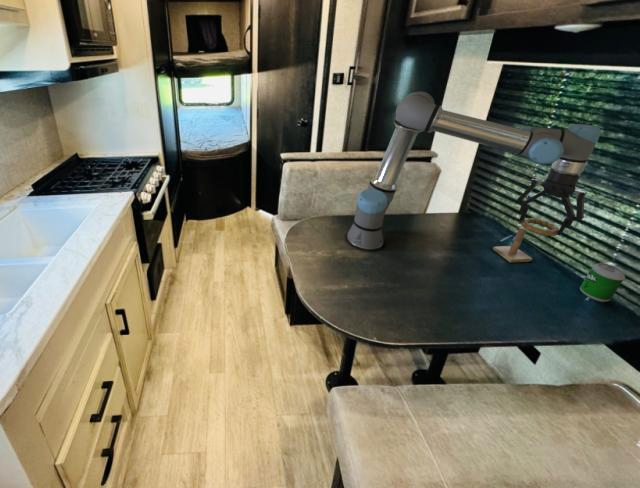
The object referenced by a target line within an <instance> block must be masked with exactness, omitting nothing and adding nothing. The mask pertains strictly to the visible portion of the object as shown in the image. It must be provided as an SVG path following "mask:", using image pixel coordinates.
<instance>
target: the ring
mask: <svg viewBox="0 0 640 488" xmlns="http://www.w3.org/2000/svg"><path fill="white" fill-rule="evenodd" d="M520 224H521V227H524V228H526V229H527V231H529V232H531V233H534V234H536V235H540V236H544V237H554V236H558V235H557V233H558V231H559V229H560V228H559V227H558V226H557V225H556V224H554V223H551V222H550V221H546V220H544V219H541V218H534V217H525V218H524V219H523V220H522V221H521V222H520ZM532 224H534V225H539V226H541V227H545V228H547V229H544V228H540V227H536V226H534V225H532Z"/></svg>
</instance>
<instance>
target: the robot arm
mask: <svg viewBox="0 0 640 488" xmlns="http://www.w3.org/2000/svg"><path fill="white" fill-rule="evenodd" d="M393 125H394V126H395V129H394V131H393V134H392V136H391V138H390V141H389V143H388V145H387V148H386V150H385V153H384V155H383V158H382V160H381V163H380V165H379V168H378V170H377V172H376V175H375V176H372V177H370V180H369V183H368V185H367V188H366V189H364V190H362V191H360V192H359V194H358V196H357V198H356V206H355V212H354V219H353V223H352V225H351V227H350V228H349V230H348V231H347V235H346V239H347V242H348V243H349V244H350V245H351V246H353V247H355V248H357V249H359V250H363V251H377V250H380V249H382V247H383V245H384V236H383V229H382V227H383V223H384V219H385V215H386V212H387V211H388V208H389V207H390V204H391V203H392V202H393V200H394V196H395V194H396V192H397V189H398V185H397V181H398V179H399V176H400V173H401V171H402V170H403V167H404V165H405V162H406V161H407V158H408V156H409V154H410V152H411V150H412V147H413V145H414V143H415V141H416V138H417V137H418V134H420V133H421V132H425V133H432V132H435V133H440V134H442V135H443V134H444V135H447V136H451V137H455V138H457V139H461V140H466V141H469V142H473V143H477V144H480V145H482V146H483V145H484V146H487V147H490V148H493V149H494V148H495V149H498V150H500V151H501V150H502V151H504V152H508V153H512V154H516V155H519V156H523V157H527V158H529V159H531V160H532V161H533V162H535V163H538V164H542V165H547V164H551V168H550V169H549V170H548V173H547V176H546V178H545V180H540V179H539V178H535V179H533V180H531V183H530V185H529V186H528V187H527V188H526V189H525V190H524V191H523V192H522V193H521V195H519V196H518V198H517V199H516V202H518V203H520V204H521V205H520V208H519V210H518V212H519V213H521V214H520V217H519V219H518V222H519V223H521V221H522V220H523V219H525V218H526V216H527V213H528V211H529V209H530V207H531V204H530V203H532V202H534V201H535V200H537V199H539V198H541V197H542V196H543V195H547V196H551V197H552V196H553V197H555V198H558V199H561V202H562V204H563V207H564V210H565V213H566V215H567V216H566V217H565V218H564V219H563V222H562V223H561V225H560V227H559V228H558V229H559V231H558V233H557V235H556V236H561V235H562V234H563V233H564V231H565V229H569V228H570V227H572V225H573V223H574V221H578V222H580V221H582V220H583V219H584V218H585V197H586V196H587V194H588V192H587V191H586V190H579V189H576V186H577V184H578V182H579V180H580V178H581V174H582V173H583V172H584V170H585V167H586V166H587V164H588V161H589V158H590V157H591V155H592V153H593V151H594V149H595V147H596V145H597V144H598V141H599V138H600V136H601V133H602V130H601V128H600V127H598V126H595V125H590V124H584V123H572V124H570V125H569V126H568V128H566V129H559V128H557V129H556V128H549V127H548V128H547V127H538V126H534V125H533V126H528V125H527V126H525V125H523V126H521V127H519V128H518V127H514V126H509V125H506V124H501V123H497V122H493V121H489V120H485V119H481V118H477V117H473V116H469V115H465V114H461V113H457V112H453V111H450V110H445V109H444V108H443V107H442V106H441V105H439V104H435V100H434V98H433V96H432V95H430V94H429V93H427V92H425V91H414V92H411V93H409V94H407V95H406V96H405V97H404V98H403V99H401V101H400V102H399V103H398V104H397V106H396V109H395V117H394V121H393ZM540 185H541V186H542V188H543V189H542V190H541V191H539V192H537V193H536V194H534V195H532V196H531V197H529V198H528V199H525V198H527V196H529V194H530V193H532V191H533V190H534V189H535V188H536V187H539V186H540ZM572 194H575V195H574V196H575V197H576V213H575V211H574V208H573V204H572V202H571V198H570V195H572Z"/></svg>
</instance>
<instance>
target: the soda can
mask: <svg viewBox="0 0 640 488" xmlns="http://www.w3.org/2000/svg"><path fill="white" fill-rule="evenodd" d="M625 279H626V275H625V274H624V272H623V270H622V269H620V268H618V267H616V266H614V265H612V264H608V263H605V262H600V263H595V264H593V265H592V266H591V268H590V270H589V271H588V273H587V275H586V277H585V278H584V280H583V281H582V283H581V285H580V287H579V290H580V292H581V293H582V295H584V296H586V297H587V298H588V299H591V301H595V302H599V303H605V302H609V301H611V300H612V298H613V297H614V295H615V294H616V292H617V291H618V289H619V287H620V286H621V285H622V283H623V282H624V280H625Z"/></svg>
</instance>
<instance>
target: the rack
mask: <svg viewBox="0 0 640 488" xmlns="http://www.w3.org/2000/svg"><path fill="white" fill-rule="evenodd" d="M527 231H528V230H527V229H526V228H524V227H523V226H519V227H518V230H517V232H516V233H515V237H514V238H513V241H512V243H511V245H498V246H497V245H496V246H493V247H492V250H493V251H494V252H495V253H497V254H498V255H499V256H501V257H502V258H504V260H506V261H508V262H509V263H528V262H532V260H533V258H532V257H531V256H529V255H528V254H527V253H525V252H523V251H522V250H521V249H519V248H520V246H521V244H522V241H523V240H524V238H525V235H526V233H527Z"/></svg>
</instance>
